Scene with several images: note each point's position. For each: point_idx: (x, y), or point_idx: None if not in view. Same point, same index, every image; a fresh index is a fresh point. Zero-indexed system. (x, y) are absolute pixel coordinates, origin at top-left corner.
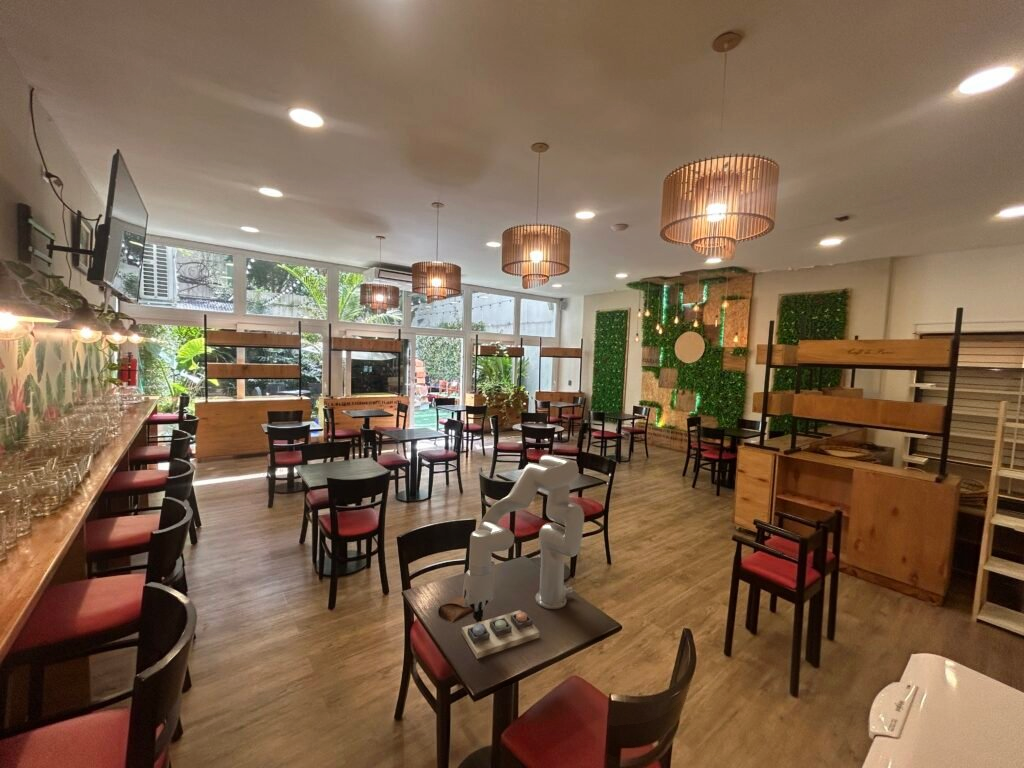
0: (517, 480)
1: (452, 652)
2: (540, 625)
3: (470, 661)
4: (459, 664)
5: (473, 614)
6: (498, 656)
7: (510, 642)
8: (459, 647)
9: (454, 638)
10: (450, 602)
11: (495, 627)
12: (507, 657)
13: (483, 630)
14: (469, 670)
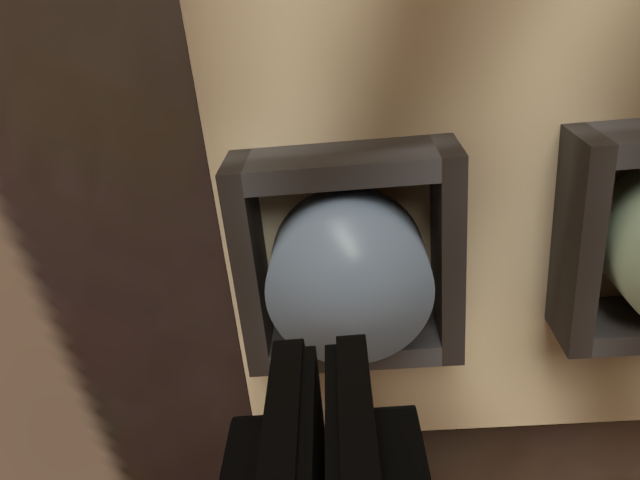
0: None
1: (50, 256)
2: None
3: (201, 403)
4: (101, 402)
5: (228, 465)
6: (452, 431)
7: (634, 412)
8: (130, 216)
9: (91, 53)
10: None
11: (596, 288)
12: (518, 462)
13: (399, 347)
14: (172, 474)
